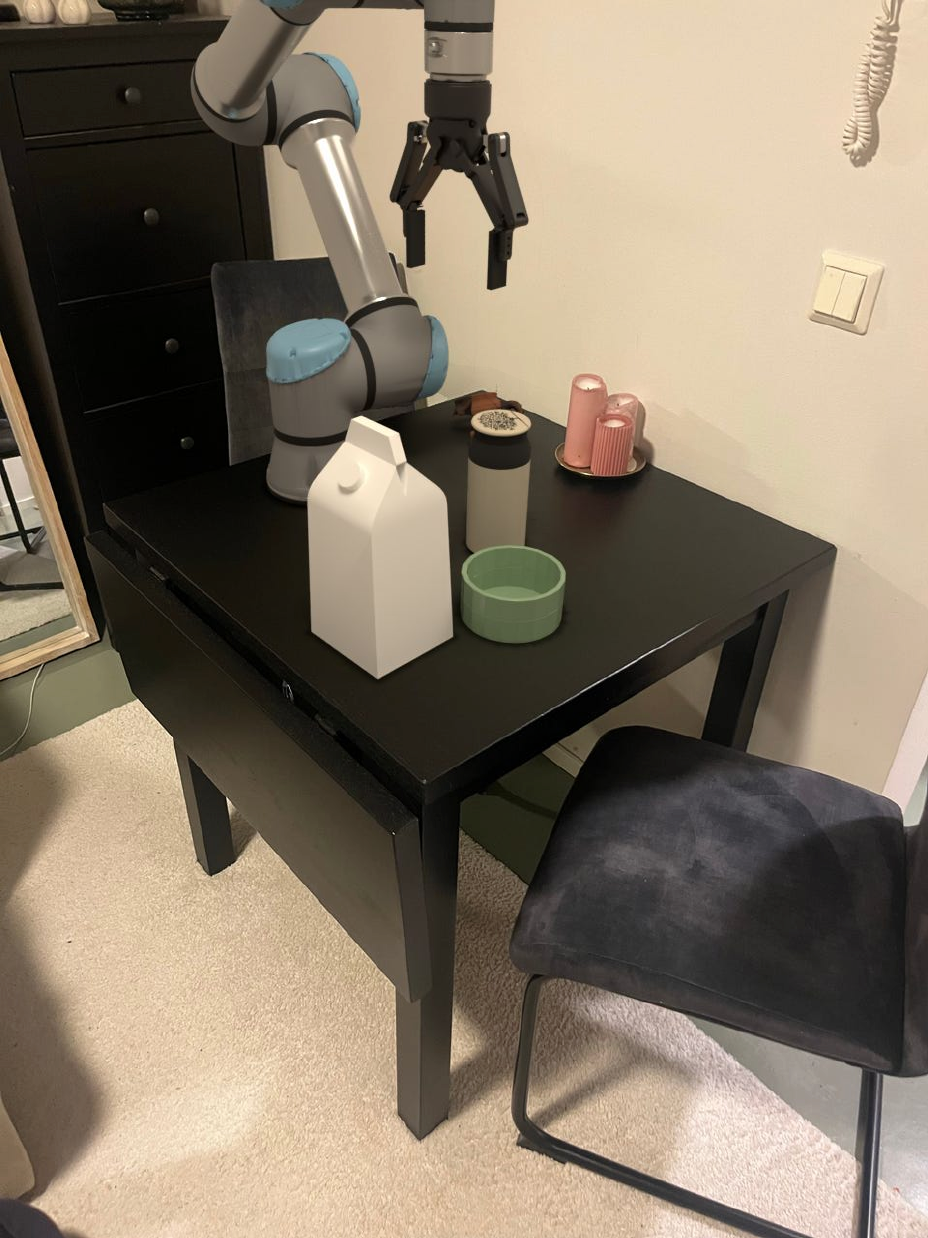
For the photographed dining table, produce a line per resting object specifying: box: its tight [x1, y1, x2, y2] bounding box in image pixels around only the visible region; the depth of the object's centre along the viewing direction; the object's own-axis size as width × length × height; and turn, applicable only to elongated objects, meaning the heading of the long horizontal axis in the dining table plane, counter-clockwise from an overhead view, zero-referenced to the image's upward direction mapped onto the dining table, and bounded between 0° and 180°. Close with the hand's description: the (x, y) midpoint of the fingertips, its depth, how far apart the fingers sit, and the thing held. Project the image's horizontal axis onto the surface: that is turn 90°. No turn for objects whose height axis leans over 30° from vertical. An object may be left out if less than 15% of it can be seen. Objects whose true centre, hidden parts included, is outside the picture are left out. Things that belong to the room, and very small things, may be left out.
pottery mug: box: [451, 391, 525, 439], centre depth 152 cm, size 12×10×8 cm
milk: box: [307, 415, 454, 680], centre depth 98 cm, size 12×12×26 cm
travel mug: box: [465, 409, 532, 554], centre depth 118 cm, size 8×8×18 cm
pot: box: [460, 545, 567, 644], centre depth 108 cm, size 12×12×6 cm
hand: (454, 276), depth 112 cm, fingers open, 13 cm apart
